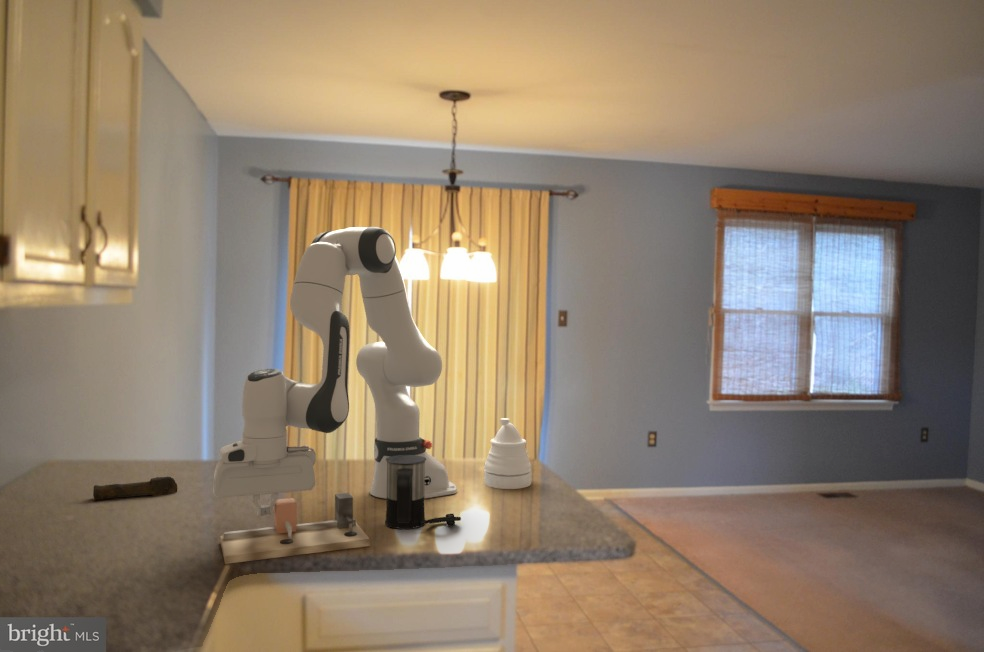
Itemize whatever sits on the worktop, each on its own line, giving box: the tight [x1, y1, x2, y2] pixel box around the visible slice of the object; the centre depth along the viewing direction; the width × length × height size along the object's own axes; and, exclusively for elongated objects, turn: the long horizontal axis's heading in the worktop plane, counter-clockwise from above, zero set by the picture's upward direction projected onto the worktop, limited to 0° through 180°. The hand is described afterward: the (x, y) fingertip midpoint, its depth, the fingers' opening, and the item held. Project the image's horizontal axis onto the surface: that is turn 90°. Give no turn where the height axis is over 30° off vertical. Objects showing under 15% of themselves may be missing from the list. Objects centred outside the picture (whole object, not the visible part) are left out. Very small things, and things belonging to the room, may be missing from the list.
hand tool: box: [92, 476, 178, 502], centre depth 189 cm, size 19×4×5 cm, turn 111°
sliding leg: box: [273, 497, 298, 539], centre depth 156 cm, size 4×9×6 cm, turn 24°
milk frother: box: [384, 455, 462, 530], centre depth 169 cm, size 14×16×15 cm
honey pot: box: [483, 417, 532, 490], centre depth 207 cm, size 13×13×18 cm
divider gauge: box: [219, 492, 370, 565], centre depth 155 cm, size 28×13×8 cm, turn 114°
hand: (264, 514), depth 156 cm, fingers closed
